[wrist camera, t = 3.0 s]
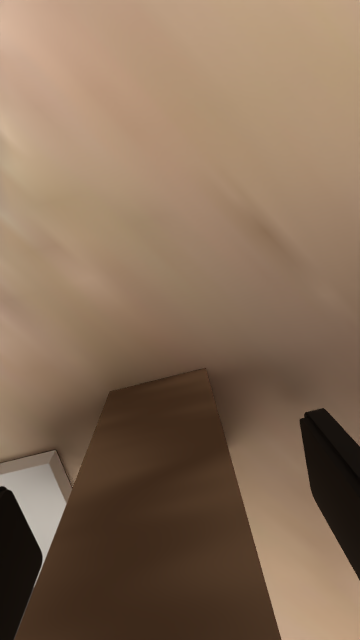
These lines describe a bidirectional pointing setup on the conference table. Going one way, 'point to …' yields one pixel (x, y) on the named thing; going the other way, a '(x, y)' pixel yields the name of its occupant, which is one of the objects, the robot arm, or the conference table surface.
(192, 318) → the conference table surface
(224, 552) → the wood block
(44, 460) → the stand
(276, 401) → the conference table surface
